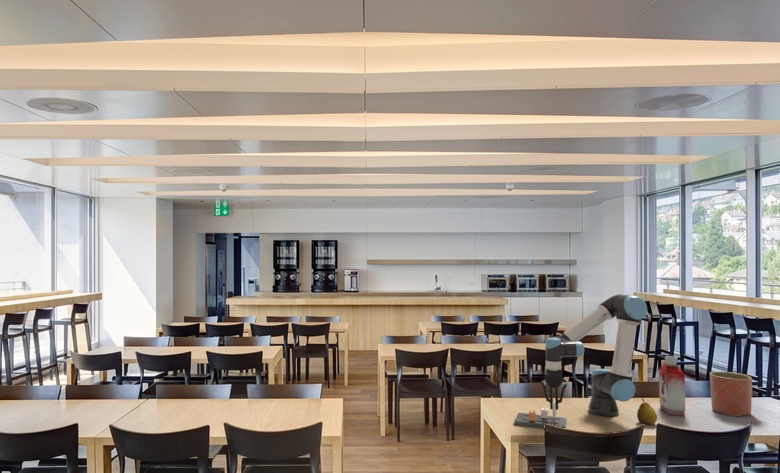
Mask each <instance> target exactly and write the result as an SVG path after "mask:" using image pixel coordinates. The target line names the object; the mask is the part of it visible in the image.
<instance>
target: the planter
mask: <svg viewBox="0 0 780 473" xmlns="http://www.w3.org/2000/svg"><path fill="white" fill-rule="evenodd" d="M752 379H753V378H752V377H751V376H749V375H747V374H744V373H739V372H738V373H737V372H731V371H712V372H709V382H710V383H709V384H710V398H711V399H710V400H711V401H710V402H711V409H712V411H715V412H717V413H721V414H725V415H728V416H730V417H733V416H736V417H737V416H750V415H749V414H751V415H752V391H753V390H752V389H753V388H752V387H753V384H752V382H753V380H752Z"/></svg>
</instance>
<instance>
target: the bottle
mask: <svg viewBox="0 0 780 473" xmlns="http://www.w3.org/2000/svg"><path fill="white" fill-rule="evenodd" d="M664 360H665V364H663V365H661V366H660V367H659V368H658V373H659V374H658V378H659V380H658V381H659V382H658V384H659V407H660V408H661V409H662V410H663V411H665V413H667V414H668V415H669V416H674V417H675V416H678V417H684V416H685V415H686V413H685V412H686V382H685V381H686V380H685V379H686V377H685V375H686V374H685V373H684V371H683V370H681V369H680V368H679V367H678V366H676V365H677V363H678V357H677V356H674V355H666V356H664Z"/></svg>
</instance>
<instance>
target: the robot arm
mask: <svg viewBox="0 0 780 473" xmlns="http://www.w3.org/2000/svg"><path fill="white" fill-rule="evenodd" d="M647 313H648V306H647V303H646V302H645V300H644V299H643V298H641V297H640V296H636V295H631V294H629V295H628V294H620V293H619V294H615V295H612V296H610V297H609V298H607V299H605V300H604V301H603V302H601V303H600V304H598V305H597V308H596V309H595V310H593V311H592V312H591V313H590V314H588V315H587V316H585V317H584V318H583V319H581V320H580V321H578V322H577V323H575V324H574V325H573V326H571V327H570V328H568V329H567V330H566V331H564V332H563V333H562V334H560V335H559V336H554V337H547V338H545V347H544V348H545V368H546V369H545V379H544V380H542V381H540V385H541V386H542V389H543V393H544V397H545V400H546V402H548V403H549V404H550V405H549V407H550V410H552V416H553V417H557V411H558V410H559V404H561V403H562V402H563V397H564V393H565V390H566V387H567V386H568V383H566V382H564V380H563V378H562V358H573V357H576V358H577V357H581V356H582V357H583V355H584V354H585V346H584V344H583V343H582V342H581V341H580V340H581V339H583V338H584V337H586V335H588V334H590V333H592V331H593V330H595V329H596V328H598V327H600V325H602V324H603V323H605V322H607V320H609V321H611V320H613V318H615V320H616V321H617V322H618V324H617V325H618V326H617V332H616V339H615V346H614V352H613V357H612V365H611V368H610V369H609V368H595V369H592V370H591V375H590V379H591V398H590V401H589V404H588V412H589V413H591V414H593V415H596V416H603V417H615V416H619V414H620V413H619V412H620V410H619V406H618V404H617V401H618V402H623V403H624V402H628V401H629V400H631V399H632V398H633V397H634V395H635V394H636V386H635V383H634V382H633V375H632V373H631V367H632V360H633V355H634V354H633V353H634V347H635V338H636V332H637V326H639V325H640V324H641V323H642V319H644V318H645V317H646V315H647ZM547 385H548V387H549V393H548V389H547ZM560 386H561V392H560V397H559V387H560ZM553 388H554V390H555V391H554V390H553ZM554 397H555V398H554ZM554 399H555V401H554Z"/></svg>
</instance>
